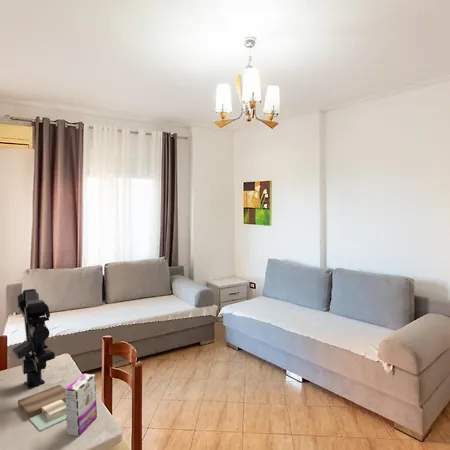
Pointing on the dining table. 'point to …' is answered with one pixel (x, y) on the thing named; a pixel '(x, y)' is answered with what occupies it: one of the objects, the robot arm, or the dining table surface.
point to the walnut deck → (41, 400)
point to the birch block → (54, 410)
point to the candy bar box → (80, 404)
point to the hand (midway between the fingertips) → (38, 371)
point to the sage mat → (45, 421)
